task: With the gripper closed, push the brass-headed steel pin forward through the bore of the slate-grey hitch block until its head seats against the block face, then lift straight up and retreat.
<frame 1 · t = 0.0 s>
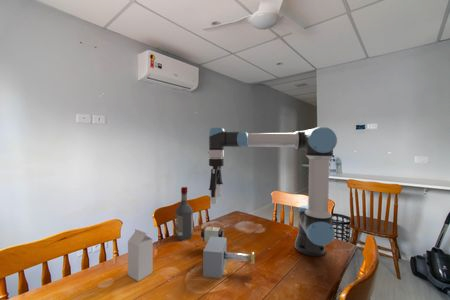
hand: (216, 199, 105), 28 cm above the table, fingers open, 13 cm apart
hitch block: (215, 267, 94), on the table
pin: (237, 256, 93), point 6 cm above the table, slide at 0.0 cm
milk carton: (140, 274, 89), on the table
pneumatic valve: (212, 248, 112), on the table
liquor: (184, 236, 126), on the table
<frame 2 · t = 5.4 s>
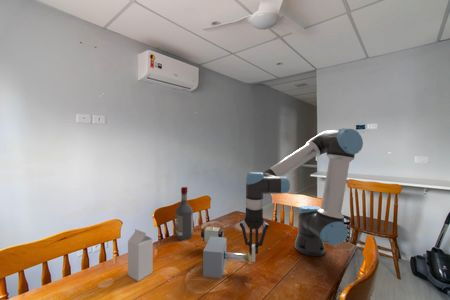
hand: (253, 260, 91), 5 cm above the table, fingers closed
pin: (234, 256, 93), point 6 cm above the table, slide at 1.2 cm, touching gripper
everything else where it was.
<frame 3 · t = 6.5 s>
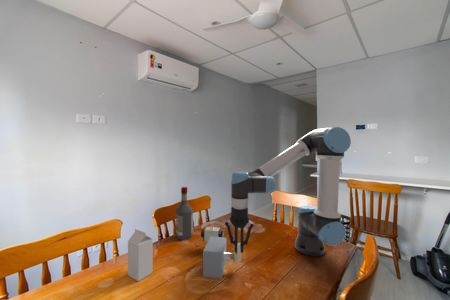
hand: (238, 258, 92), 5 cm above the table, fingers closed
pin: (220, 255, 94), point 6 cm above the table, slide at 7.7 cm, touching gripper
everything else where it was.
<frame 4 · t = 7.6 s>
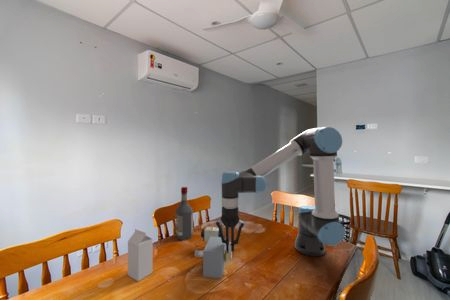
hand: (230, 258, 93), 5 cm above the table, fingers closed
pin: (212, 254, 94), point 6 cm above the table, slide at 11.5 cm
everything else where it was.
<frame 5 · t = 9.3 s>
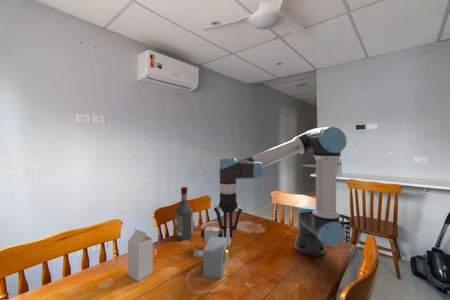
hand: (228, 244, 93), 11 cm above the table, fingers closed
pin: (210, 254, 94), point 6 cm above the table, slide at 12.0 cm, touching hitch block
everything else where it was.
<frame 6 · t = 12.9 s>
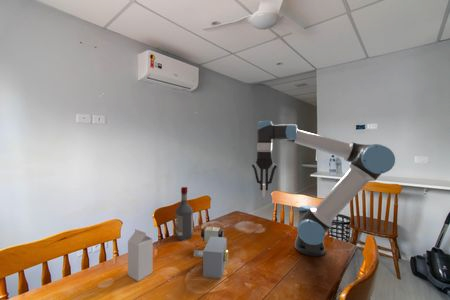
hand: (263, 196, 107), 29 cm above the table, fingers closed
nothing on the table moved.
at the end: pin slide at 12.0 cm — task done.
